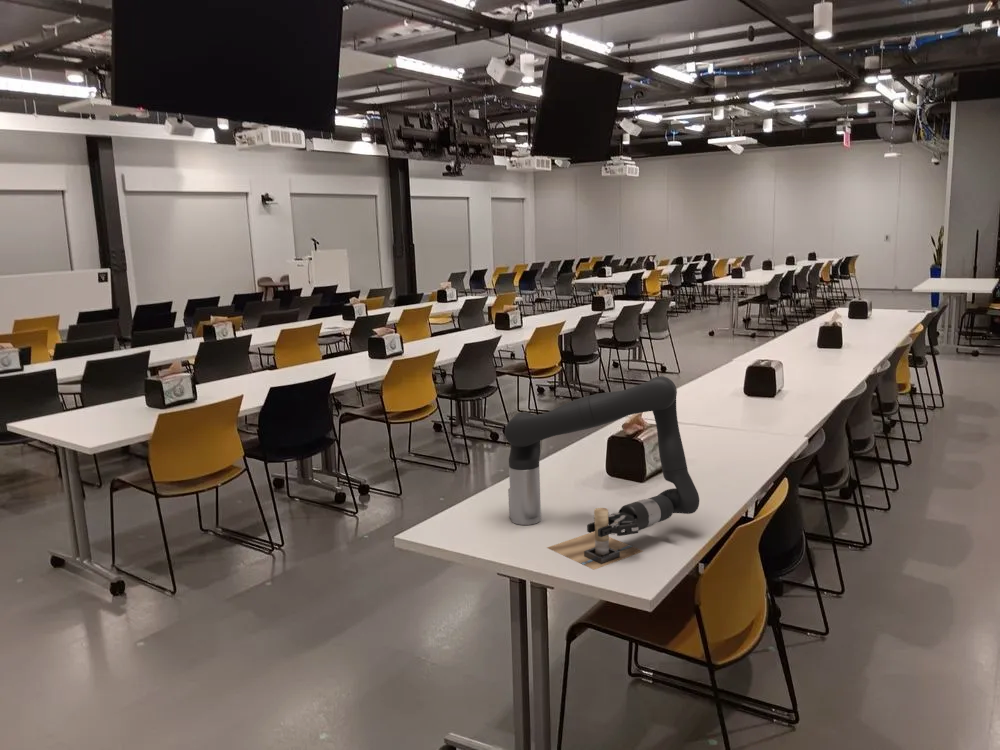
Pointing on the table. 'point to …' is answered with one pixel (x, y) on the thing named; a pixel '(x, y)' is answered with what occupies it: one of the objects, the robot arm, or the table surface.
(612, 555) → the pilot collar
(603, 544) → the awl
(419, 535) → the table surface
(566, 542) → the board
